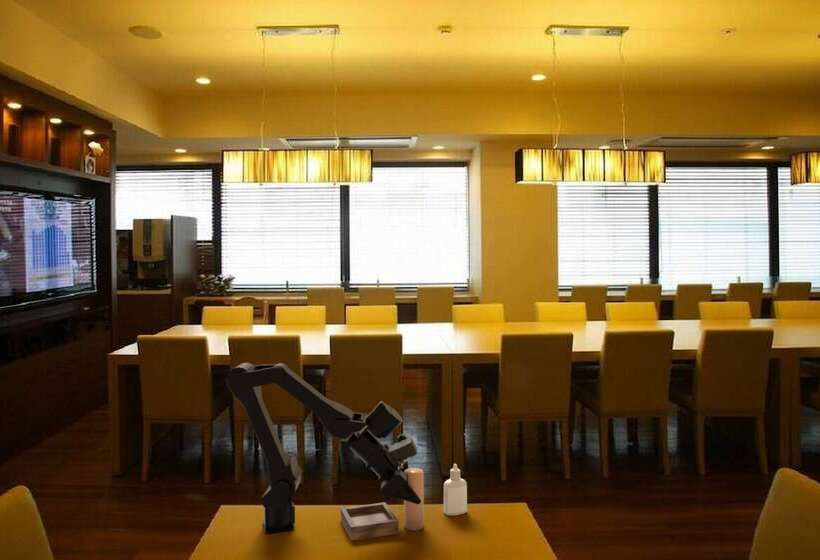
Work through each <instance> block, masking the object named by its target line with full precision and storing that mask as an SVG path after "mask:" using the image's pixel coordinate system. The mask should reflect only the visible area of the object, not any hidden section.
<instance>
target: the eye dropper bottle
mask: <svg viewBox="0 0 820 560" xmlns="http://www.w3.org/2000/svg"><path fill="white" fill-rule="evenodd" d="M449 474H450V476H449V477H450V478H449V479H446V481H445V482H444V483H443V513H444V514H445V515H446V516H449V517H450V516H454V517H455V516H459V515H460V514H461V515H463V514H466V513H467V512H468V490H467V489H468V483H467V481H466V479H463V478H461V469H459V468H458V465H457V463H453V466H452V468H451V469H449ZM461 515H460V516H461Z"/></svg>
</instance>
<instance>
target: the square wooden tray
mask: <svg viewBox="0 0 820 560" xmlns="http://www.w3.org/2000/svg"><path fill="white" fill-rule="evenodd" d="M393 512H394V511H392V510H391V508H390V507H389V506H388V504H387V503H386V502H384V501H383V502H377V503H371V504H370V503H369V504H364V505H363V504H362V505H355V506H347V507H340V521H341V523H342V526H343V527H344V530H345V531H346V533H347V535H348V538H349V539H350V541H358V540H365V539H371V538H378V537H379V538H380V537H384V536H391V535H398V534H399V532H400V531H399V529H400V528H399V527H400V526H399V522H400V521H399V519H398V517H397V516H396V515H395V514H394V513H393Z"/></svg>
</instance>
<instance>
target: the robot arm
mask: <svg viewBox="0 0 820 560" xmlns="http://www.w3.org/2000/svg"><path fill="white" fill-rule="evenodd" d="M225 382H226V385H227V387H228V388H229V390H230V392H231V393H232V395H233V397H234V398H235V399H236V400H237V401H238V402H239V403H240V404H241V406H243V408H244V410H245V413H246V415H247V417H248V420H249V421H250V425H251V427H252V429H253V431H254V433H255V436H256V438H257V441H258V444H259V445H260V449H261V450H262V453H263V456H264V459H265V460H266V465H267V473H268V474H267V477H268V478H267V479H268V482H269V485H268V488H267V489H266V490H265V492H264V493H263V495H262V497H261V498H260V501H261V503H262V506H263V521H262V524H263V529H264V530H263V531H264V533H265V534H273V533H280V532H286V531H293V530H295V526H294V524H296V506H295V503H294V502H293V500H292V496H293V495H294V494H295V492H296V491H297V488H298V486H299V484H300V482H301V479H302V475H301V473H302V472H303V469H302V468H301V467H300V465H299V463H298V459H297V456H296V455H294V456H292V457H289V455H288V454H287V453H286V452H285V450H284V448H283V445H282V443H281V441H280V438H279V436H278V432H277V431H276V427H274V423H273V421H272V419H271V416H270V414H269V411H268V409H267V407H266V404H265V402H264V400H263V396H262V395H263V394H262V386H265V385H270V384H271V385H272V384H277V385H278V386H279V387H280V388H282V389H283V390H284V391H285V392H287V393H288V394H289V395H291V396H292V397H293V398H295V400H297V401H298V402H299V403H301V404H302V405H303V406H305V407H306V408H307V409H308V410H309V411H311V412H312V413H313V414H314V415H316V417H317V418H318V420H319V422H320V423H321V425H322V426H323V427H324V428H325V429H326V430H327V431H328V432H329V434H330V435H332V436H333V437H334V438H337V439H341V440H340V445H341V451H340V452H341V454H345V453H346V452H347V451H348V450H349V449H350V450H351V451H352V452H354V454H356V455H357V456H358V457H359V458H360V459H361V461H363V462H364V463H365V468H366V469H367V470H372V472H374V473H375V475H376V476H378V481H380V482H381V484H380V496H382V498H383V499H384V500H385V501H389V500H390V499H391V498H392V497H393V498H396V499H398V500H399V499H400V500H402V501H404V500H406V501H409V502H412V503H415V504H420V503H421V499H420V498H419V497H418V495H417V494H416V492H415V491H414V490H413V488H412V487H411V486H410V484H409V483H408V474H407V475H405V474H404V471H405V470H406V469H409V461H408V460H407V459H409V458H412V457H414V456H416V455H417V454H418V448H417V446H416V444H415V442H414V438H412V437H411V436H410V435H409V436H407V435H406V434H405V433H401V434H399V435H398V436H397V442H395V443H394V444H393V445H391V446H390V445H389V444H387V443H384V442H383V443H382V442H381V441H379V439H380V440H381V439H382V438H383V439H386V438H388V437H389V435H390V434H391V433H393V432H394V431H395V430H396V429H397V428H398V427H399V426H400V424H402V423H403V421H404V420H403V418H402V416H401V415H400V414H399V413H398V412H397V410H396V409H395V408H394V407H391V406H390V405H389V404H386V403H385V402H384V401H383V400H381V401H379V402H378V403H377V405H376V406H375V408H374V409H372V411H371V412H370V413H361V412H354V411H353V410H352V409H350V408H348V407H347V406H346V405H343V404H342V403H339V402H337V401H334V400H331V399H329V398H327V397H326V396H324V395H323V394H322V393H321V392H319V391H318V390H317V389H315V388H314V387H313V386H312V385H310V384H309V383H308V382H307V381H305V380H304V379H303V378H302V377H300V376H299V375H298V374H296V373H295V372H294V371H293V370H291V368H289V367H288V365H287V364H285V363H281V362H279V363H277V364H276V363H275V364H258V365H254V364H252V363H249V362H242V363H240V364H238V365H237V366H236V367H234V368H233V369H231V370H229V372H228V373H227V376H226V380H225ZM404 460H405V462H403V463H402V461H404Z"/></svg>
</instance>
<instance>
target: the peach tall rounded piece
mask: <svg viewBox="0 0 820 560" xmlns="http://www.w3.org/2000/svg"><path fill="white" fill-rule="evenodd" d="M404 474H405V475H407V474H408V483H409V484H410V486H411V487H412V488H413V490H414V491H415V492H416V494H417V495H418V497H419V498H420V499H421V503H420V504H415V503H412V502H409V501H406V500H403V501H404V502H403V503H404V528H405V529H406V530H408V531H420V530H422V529H423V528H424V470H423V469H422V468H418V467H410V468H409V467H408V469H406V470H405V471H404Z"/></svg>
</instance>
